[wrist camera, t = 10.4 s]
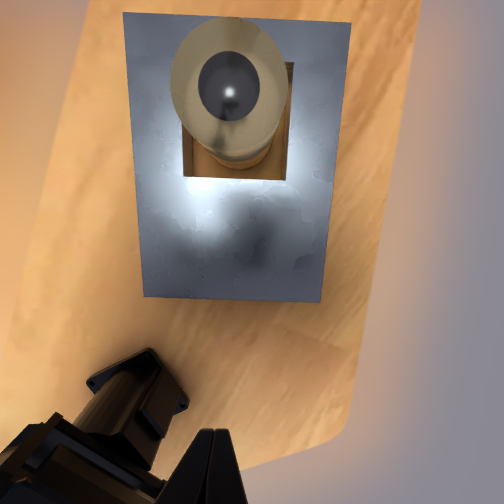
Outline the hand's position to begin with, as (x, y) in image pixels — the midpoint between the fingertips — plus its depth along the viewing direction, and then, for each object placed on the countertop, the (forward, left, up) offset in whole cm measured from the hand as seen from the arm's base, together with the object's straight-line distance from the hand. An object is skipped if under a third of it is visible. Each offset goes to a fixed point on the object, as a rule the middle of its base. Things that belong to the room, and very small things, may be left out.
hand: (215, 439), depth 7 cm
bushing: (+5, +10, -12) cm, 16 cm away
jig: (+4, +7, -12) cm, 14 cm away
